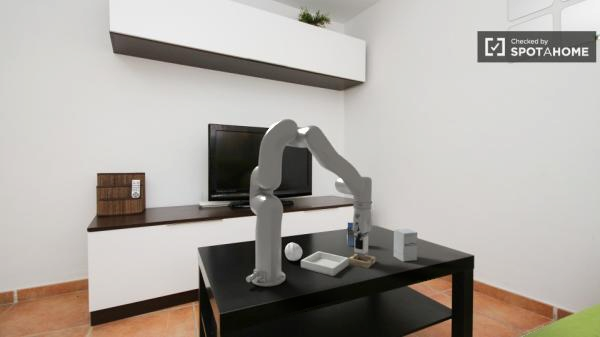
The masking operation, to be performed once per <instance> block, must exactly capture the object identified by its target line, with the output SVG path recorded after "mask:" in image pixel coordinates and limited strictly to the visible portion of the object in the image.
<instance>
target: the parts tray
mask: <svg viewBox="0 0 600 337" xmlns="http://www.w3.org/2000/svg"><path fill="white" fill-rule="evenodd" d="M349 258H350V257H345V256H341V255H338V254H337V255H336V254H333V253H328V252H324V251H321V250H320V251H316V252H314V253H312V254H310V255H308V256H307V257H305V258H303V259H301V260H300V268H301V269H305V270H309V271H312V272H314V273H315V272H316V273H319V274H323V275H327V276H330V277H334V276H336V275H337V274H338V273H340V272H341V271H342V270H344V269H346V267H348V266H349V265H350V264H349Z"/></svg>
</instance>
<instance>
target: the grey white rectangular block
mask: <svg viewBox="0 0 600 337" xmlns="http://www.w3.org/2000/svg"><path fill="white" fill-rule="evenodd" d="M358 232H360V231H358ZM369 233H370V232H368V233H367V232H366V233H364V234H363V235H362V240H363V249H362V250H361V249H356V248H355V239H354V246H353V248H354V250H353V255H354V254H357V255H361V256H365V255H368V254H369ZM359 235H360V234H359Z"/></svg>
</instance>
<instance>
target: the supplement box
mask: <svg viewBox="0 0 600 337" xmlns="http://www.w3.org/2000/svg"><path fill="white" fill-rule="evenodd" d="M393 257H394V258H396V259H398V261H399V260H400V261H401V262H408V261H417V260H418V231H415V230H412V229H409V228H401V229H393Z"/></svg>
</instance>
